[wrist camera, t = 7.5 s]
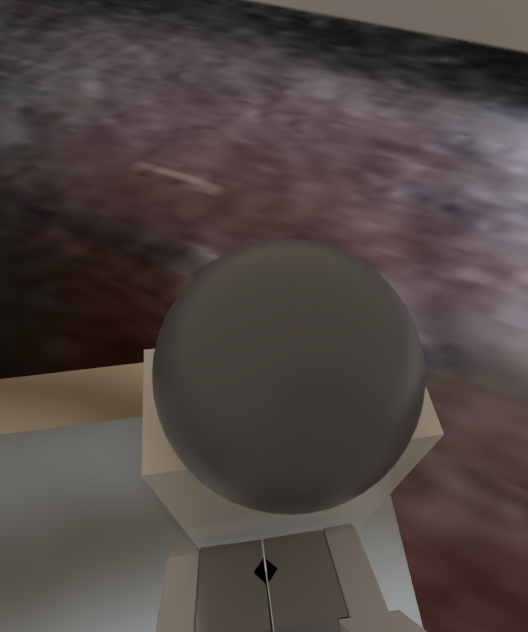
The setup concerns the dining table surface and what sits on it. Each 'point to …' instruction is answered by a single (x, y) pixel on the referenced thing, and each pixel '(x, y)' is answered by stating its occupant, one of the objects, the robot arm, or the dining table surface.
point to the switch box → (106, 510)
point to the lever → (283, 395)
